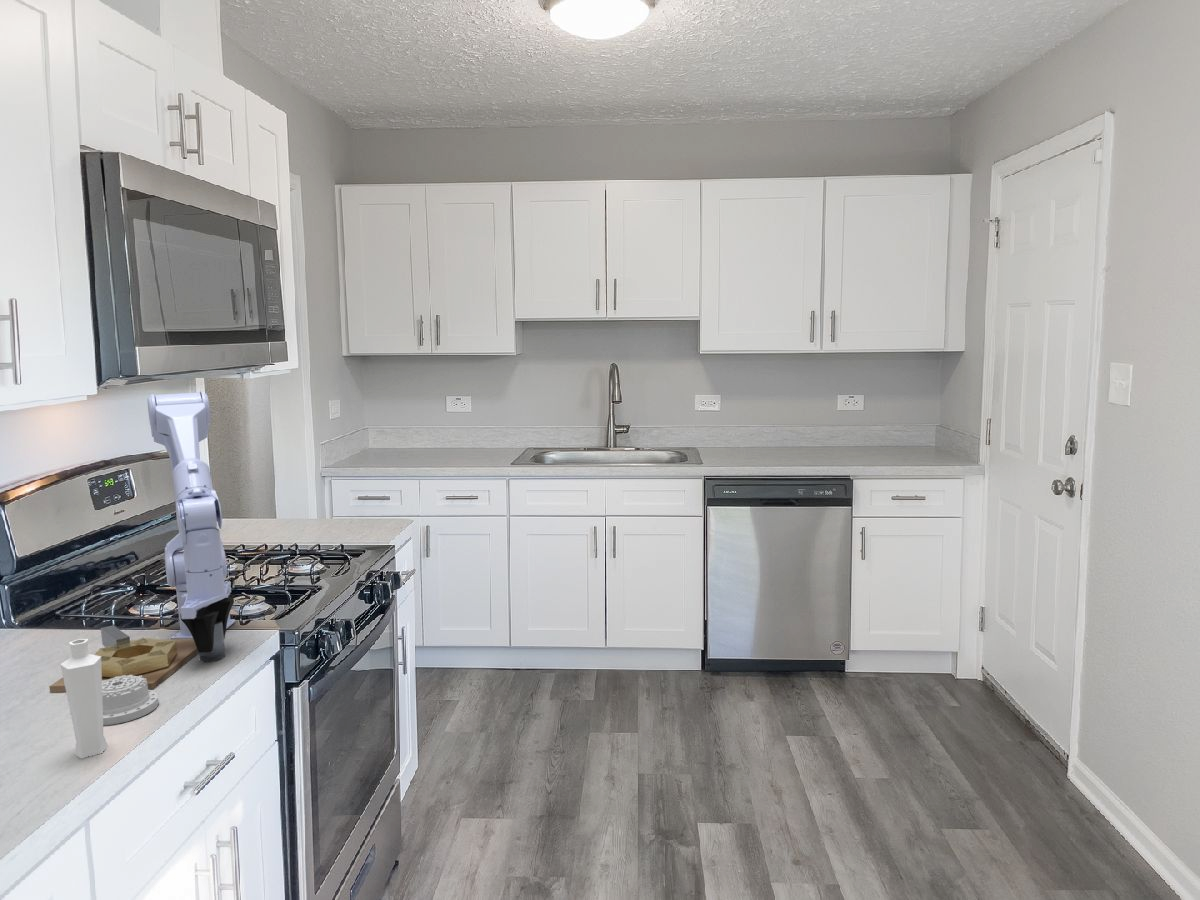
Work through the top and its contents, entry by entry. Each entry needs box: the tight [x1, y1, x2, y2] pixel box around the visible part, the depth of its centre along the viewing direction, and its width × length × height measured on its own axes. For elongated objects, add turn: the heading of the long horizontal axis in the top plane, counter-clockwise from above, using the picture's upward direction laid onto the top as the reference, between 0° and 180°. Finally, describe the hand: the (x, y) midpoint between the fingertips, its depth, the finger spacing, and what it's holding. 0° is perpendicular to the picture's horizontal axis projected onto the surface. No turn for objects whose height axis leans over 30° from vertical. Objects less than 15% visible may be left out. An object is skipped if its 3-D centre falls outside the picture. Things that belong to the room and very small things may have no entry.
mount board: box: [49, 638, 199, 693], centre depth 147 cm, size 20×16×1 cm
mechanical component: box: [102, 675, 160, 726], centre depth 129 cm, size 10×4×10 cm
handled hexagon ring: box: [94, 625, 177, 678], centre depth 147 cm, size 20×13×3 cm
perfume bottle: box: [60, 638, 109, 759], centre depth 116 cm, size 5×4×15 cm
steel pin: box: [198, 620, 226, 663], centre depth 149 cm, size 4×4×6 cm
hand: (211, 646), depth 149 cm, fingers closed on steel pin, 4 cm apart
